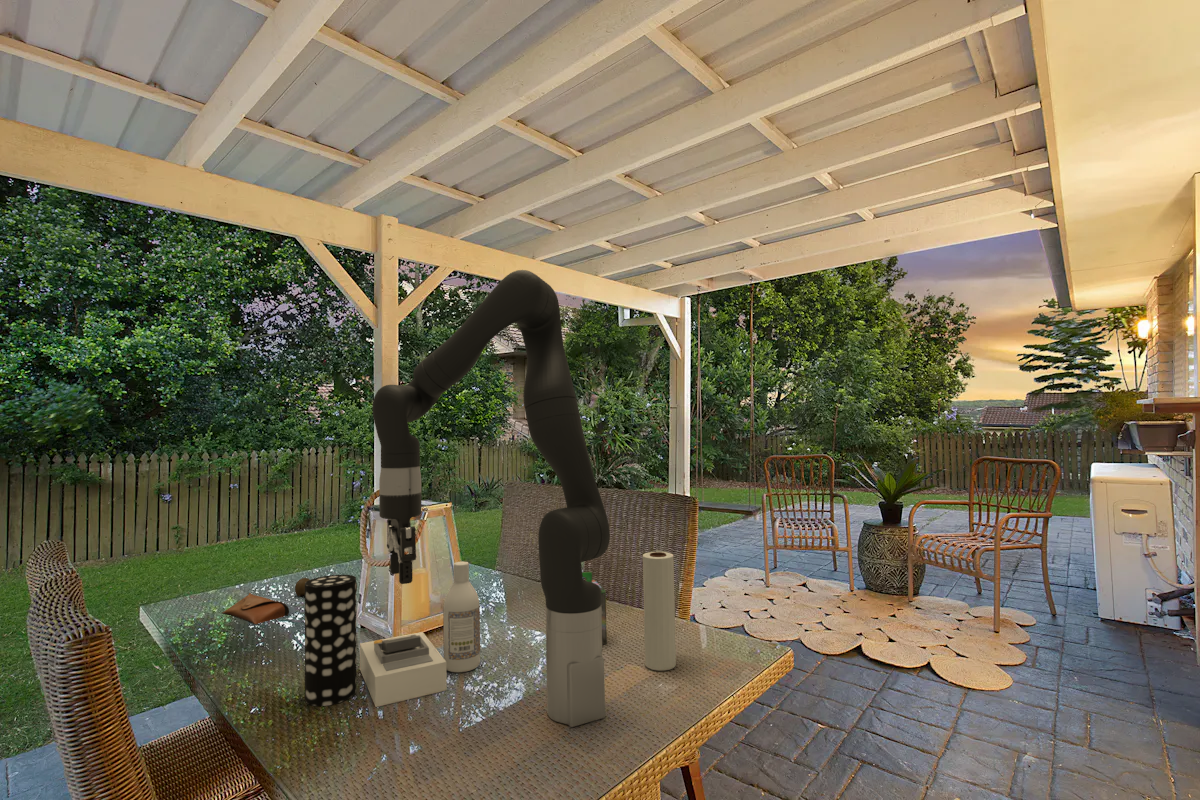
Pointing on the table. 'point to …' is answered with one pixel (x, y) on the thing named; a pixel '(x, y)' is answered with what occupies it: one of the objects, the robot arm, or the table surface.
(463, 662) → the bath foam
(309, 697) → the spotted tube
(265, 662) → the table surface
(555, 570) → the robot arm
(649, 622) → the paper towel roll
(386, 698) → the switch box
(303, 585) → the kendama
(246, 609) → the sunglasses case
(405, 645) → the rocker paddle
